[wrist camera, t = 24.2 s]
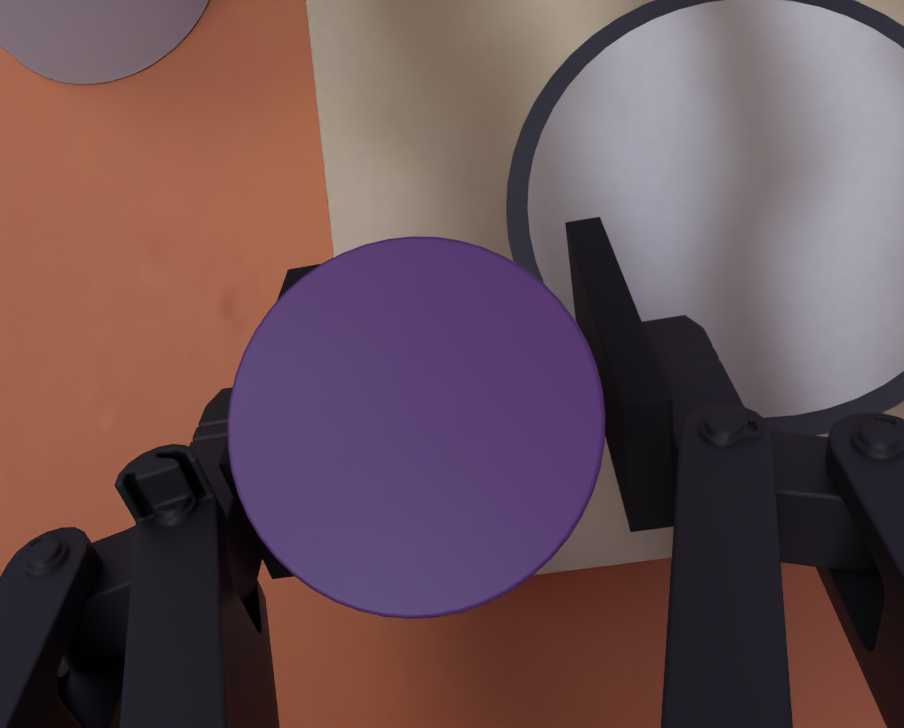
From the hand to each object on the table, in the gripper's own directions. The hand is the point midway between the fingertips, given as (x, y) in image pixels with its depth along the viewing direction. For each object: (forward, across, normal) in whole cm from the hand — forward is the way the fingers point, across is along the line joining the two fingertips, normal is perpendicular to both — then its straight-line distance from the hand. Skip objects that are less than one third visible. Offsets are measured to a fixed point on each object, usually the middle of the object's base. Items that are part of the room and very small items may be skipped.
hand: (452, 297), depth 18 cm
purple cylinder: (0, 0, -5) cm, 5 cm away
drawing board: (+5, +6, -2) cm, 8 cm away
